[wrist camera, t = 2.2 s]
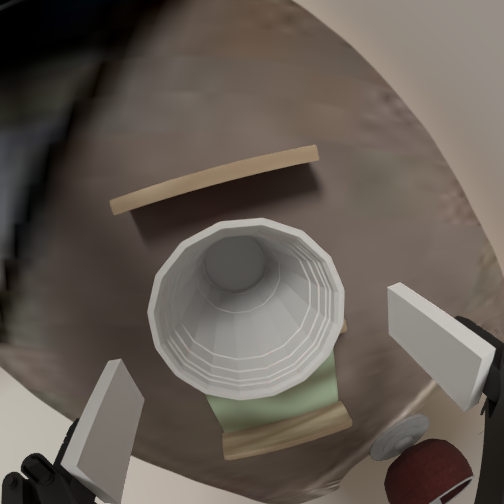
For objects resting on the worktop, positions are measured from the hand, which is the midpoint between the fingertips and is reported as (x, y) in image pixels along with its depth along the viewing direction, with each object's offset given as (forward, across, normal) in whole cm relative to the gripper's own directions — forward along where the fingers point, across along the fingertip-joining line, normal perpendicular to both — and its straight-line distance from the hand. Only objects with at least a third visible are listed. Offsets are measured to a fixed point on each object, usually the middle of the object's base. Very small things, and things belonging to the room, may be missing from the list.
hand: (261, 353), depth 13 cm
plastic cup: (+14, 0, 0) cm, 14 cm away
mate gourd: (+15, +19, -41) cm, 47 cm away
